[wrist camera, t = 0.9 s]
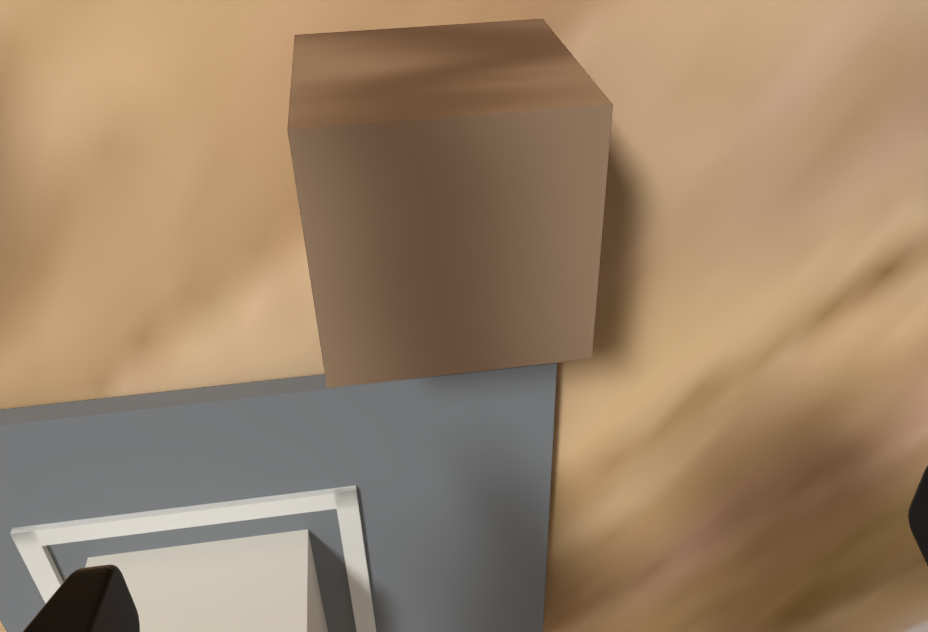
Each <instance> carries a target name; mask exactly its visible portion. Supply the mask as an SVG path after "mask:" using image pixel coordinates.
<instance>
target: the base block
mask: <svg viewBox="0 0 928 632" xmlns="http://www.w3.org/2000/svg"><path fill="white" fill-rule="evenodd" d="M109 564H110V565H115V566H117V567H118V568H119V569H120V571H121V572H122V574H123V577H124V579H125V582H126V584H127V587H128V589H129V591H130V594H131V596H132V599H133V601H134V604H135V606H136V609H137V612H138V616H139V623H140V632H328V629H327V624H326V619H325V614H324V608H323V603H322V598H321V593H320V588H319V583H318V578H317V573H316V568H315V563H314V558H313V553H312V547H311V542H310V537H309V532H308V529H306V530H298V531H291V532H283V533H275V534H267V535H260V536H252V537H244V538H236V539H229V540H221V541H213V542H205V543H197V544H190V545H182V546H174V547H166V548H159V549H151V550H143V551H135V552H128V553H120V554H112V555H104V556H96V557H89V558H88V559H87V563H86V566H85V567H93V566H101V565H109Z"/></svg>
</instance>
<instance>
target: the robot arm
mask: <svg viewBox="0 0 928 632" xmlns="http://www.w3.org/2000/svg"><path fill="white" fill-rule="evenodd" d="M908 517H909V524H910V528H911V531H912V533H913V535H914V538H915V540H916V542H917V544H918V546H919V548H920V550H921V553H922V555H923V557H924V559H925V561H926V563H927V565H928V466H927V467H926V469H925V471H924V473H923V476H922V478H921V481H920V483H919V485H918V488H917V490H916V493H915V495H914V498H913V500H912V502H911V505H910V508H909V514H908ZM23 632H140V623H139V616H138V612H137V609H136V606H135V604H134V601H133V599H132V596H131V594H130V591H129V589H128V587H127V584H126V582H125V579H124V577H123V574H122V572H121V571H120V569H119V568H118V567H117V566H115V565H110V564H109V565H101V566H93V567H85V568H80V569H77V570H76V571H74V572H73V573H71V574H70V575H69V576H68V577H67V579H66V580H65V581H64V582H63V583H62V585H61V586H60V587H59V588H58V589H57V591H56V592H55V593H54V594H53V596H52V597H51V598H50V599H49V600H48V602H47V603H46V604H45V605H44V606H43V608H42V609H41V610H40V611H39V612H38V614H37V615H36V616H35V617H34V619H33V620H32V621H31V622H30V623H29V625H28V626H27V627H26V628H25V629H24V631H23Z"/></svg>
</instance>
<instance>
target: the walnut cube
mask: <svg viewBox="0 0 928 632" xmlns="http://www.w3.org/2000/svg"><path fill="white" fill-rule="evenodd" d="M612 109H613V104H612V103H611V102H610V101H609V99H608V98H607V97H606V96H605V94H604V93H603V92H602V91H601V90H600V88H599V87H598V86H597V85H596V83H595V82H594V81H593V80H592V79H591V77H590V76H589V75H588V74H587V72H586V71H585V70H584V69H583V68H582V66H581V65H580V64H579V63H578V61H577V60H576V59H575V58H574V57H573V55H572V54H571V53H570V52H569V50H568V49H567V48H566V47H565V46H564V44H563V43H562V42H561V41H560V39H559V38H558V37H557V36H556V35H555V33H554V32H553V31H552V30H551V28H550V27H549V26H548V25H547V24H546V22H545V21H544V20H543V19H532V20H517V21H501V22H486V23H471V24H456V25H440V26H425V27H410V28H395V29H379V30H364V31H349V32H333V33H318V34H303V35H295V38H294V51H293V64H292V77H291V90H290V103H289V116H288V129H287V130H288V137H289V143H290V150H291V156H292V163H293V169H294V176H295V182H296V189H297V195H298V202H299V208H300V215H301V221H302V228H303V234H304V241H305V247H306V254H307V260H308V267H309V273H310V280H311V286H312V293H313V299H314V306H315V312H316V319H317V325H318V332H319V338H320V345H321V351H322V358H323V364H324V371H325V377H326V384H327V388H331V387H340V386H349V385H358V384H367V383H376V382H385V381H394V380H403V379H412V378H421V377H430V376H439V375H449V374H458V373H467V372H476V371H485V370H494V369H503V368H512V367H521V366H530V365H539V364H548V363H557V362H566V361H576V360H585V359H592V351H593V339H594V327H595V315H596V302H597V290H598V278H599V266H600V254H601V242H602V230H603V218H604V205H605V193H606V181H607V169H608V157H609V145H610V133H611V121H612Z"/></svg>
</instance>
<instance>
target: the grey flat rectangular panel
mask: <svg viewBox="0 0 928 632" xmlns="http://www.w3.org/2000/svg"><path fill="white" fill-rule="evenodd" d="M556 373H557V363H548V364H539V365H530V366H521V367H512V368H503V369H494V370H485V371H476V372H467V373H458V374H449V375H439V376H430V377H421V378H412V379H403V380H394V381H385V382H376V383H367V384H358V385H349V386H340V387H331V388H327V384H326V377H325V374H322V375H313V376H304V377H295V378H286V379H276V380H267V381H258V382H249V383H240V384H231V385H222V386H212V387H203V388H194V389H185V390H176V391H167V392H158V393H148V394H139V395H130V396H121V397H112V398H103V399H93V400H84V401H75V402H66V403H57V404H48V405H39V406H29V407H20V408H11V409H2V410H0V620H1V622H2V624H3V626H4V628H5V629H6V631H7V632H23V631H24V629H25V628H26V627H27V626H28V625H29V623H30V622H31V621H32V620H33V619H34V617H35V616H36V615H37V614H38V612H39V611H40V610H41V609H42V608H43V606H44V605H45V604H46V603H47V602H48V600H49V599H50V598H51V597H52V596H53V594H54V593H55V592H56V591H57V589H58V588H59V587H60V586H61V585H62V583H63V582H64V581H65V580H66V579H67V577H68V576H69V575H70V574H71V573H73V572H74V571H76V570H77V569H80V568H85V566H86V563H87V559H88V558H89V557H96V556H104V555H112V554H120V553H128V552H135V551H143V550H151V549H159V548H166V547H174V546H182V545H190V544H197V543H205V542H213V541H221V540H229V539H236V538H244V537H252V536H260V535H267V534H275V533H283V532H291V531H298V530H306V529H308V532H309V537H310V542H311V547H312V553H313V558H314V563H315V568H316V573H317V578H318V583H319V588H320V593H321V598H322V603H323V608H324V614H325V619H326V624H327V629H328V632H543V623H544V604H545V585H546V566H547V546H548V527H549V508H550V489H551V469H552V450H553V431H554V412H555V392H556Z"/></svg>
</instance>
